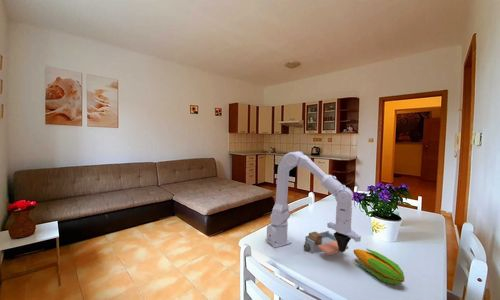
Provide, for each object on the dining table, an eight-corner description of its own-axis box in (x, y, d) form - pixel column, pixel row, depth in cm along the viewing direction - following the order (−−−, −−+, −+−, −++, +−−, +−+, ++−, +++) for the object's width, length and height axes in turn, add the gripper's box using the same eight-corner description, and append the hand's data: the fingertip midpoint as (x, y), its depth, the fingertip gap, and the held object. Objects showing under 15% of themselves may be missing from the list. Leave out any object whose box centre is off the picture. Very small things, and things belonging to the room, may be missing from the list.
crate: (314, 245, 94) (315, 236, 93) (308, 241, 97) (308, 233, 97) (321, 243, 96) (322, 235, 95) (315, 239, 99) (315, 231, 99)
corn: (397, 270, 70) (347, 241, 88) (394, 292, 70) (345, 260, 89) (411, 266, 73) (360, 239, 91) (408, 288, 73) (358, 257, 91)
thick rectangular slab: (317, 248, 92) (328, 255, 87) (318, 245, 92) (328, 252, 87) (336, 242, 97) (348, 249, 92) (337, 240, 97) (348, 246, 92)
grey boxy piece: (310, 254, 92) (311, 241, 92) (303, 248, 97) (303, 236, 96) (338, 246, 100) (338, 234, 99) (329, 241, 104) (330, 230, 104)
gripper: (366, 223, 82) (364, 257, 83) (336, 211, 95) (334, 241, 96) (354, 226, 79) (352, 262, 80) (324, 213, 92) (323, 244, 93)
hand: (341, 251), depth 88 cm, fingers closed
